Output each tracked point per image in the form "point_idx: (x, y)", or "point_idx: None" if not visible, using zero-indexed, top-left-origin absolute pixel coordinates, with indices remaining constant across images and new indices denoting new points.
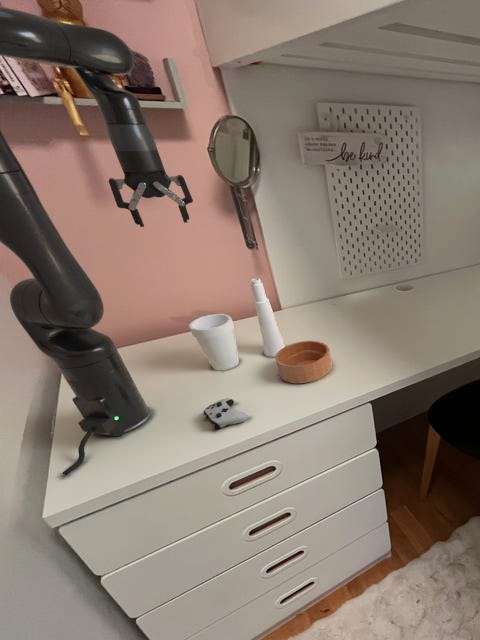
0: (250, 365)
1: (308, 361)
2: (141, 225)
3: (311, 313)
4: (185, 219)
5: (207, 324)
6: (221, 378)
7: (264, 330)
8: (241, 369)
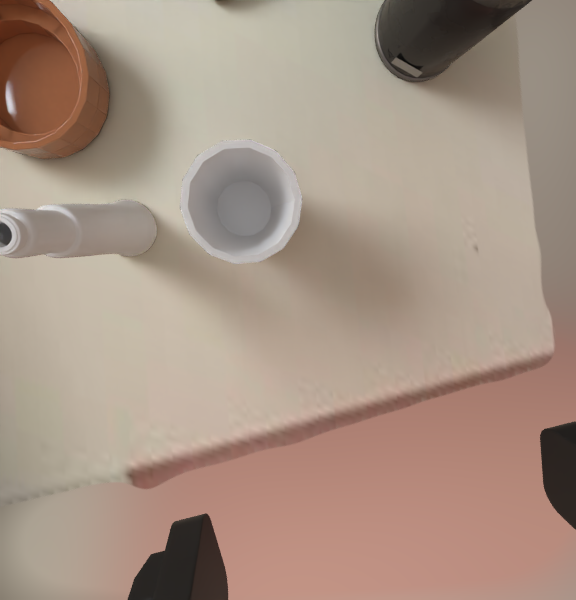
0: None
1: (35, 130)
2: (569, 426)
3: (42, 426)
4: (178, 539)
5: (262, 247)
6: None
7: (111, 207)
8: None
